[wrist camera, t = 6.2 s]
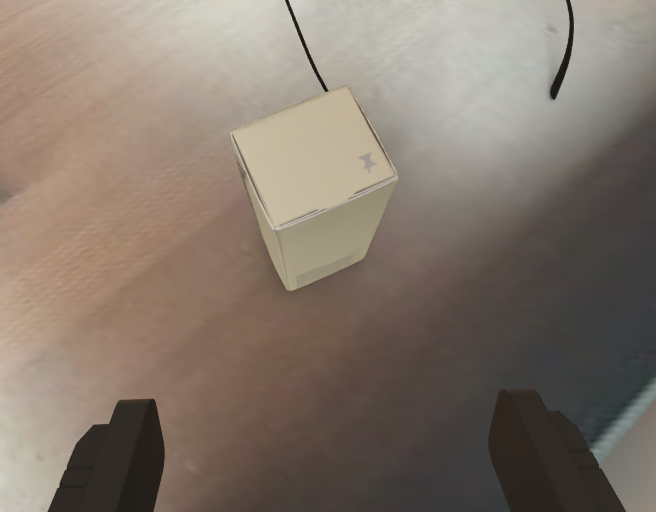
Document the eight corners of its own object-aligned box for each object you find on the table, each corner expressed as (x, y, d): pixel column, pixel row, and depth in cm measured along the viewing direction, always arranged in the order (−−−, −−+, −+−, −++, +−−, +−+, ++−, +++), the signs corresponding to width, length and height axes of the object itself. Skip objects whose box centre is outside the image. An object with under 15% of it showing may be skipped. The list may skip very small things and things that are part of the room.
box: (334, 196, 33) (355, 75, 20) (366, 261, 32) (409, 175, 19) (252, 230, 32) (223, 126, 20) (283, 298, 31) (273, 234, 19)
